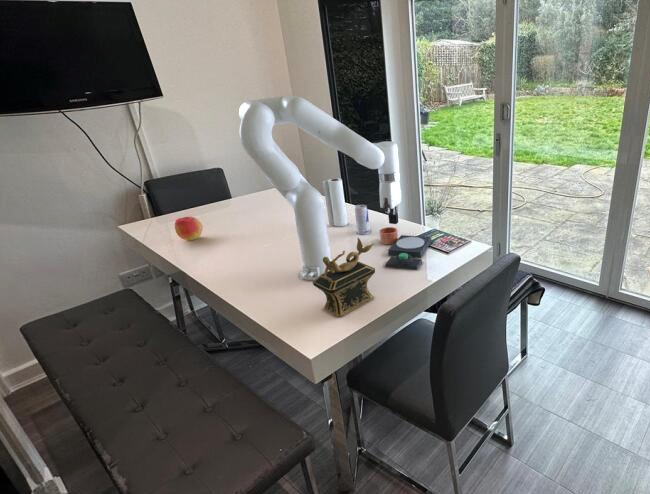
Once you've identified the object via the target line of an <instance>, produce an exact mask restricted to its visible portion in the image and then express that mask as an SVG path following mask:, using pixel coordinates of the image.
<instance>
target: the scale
mask: <svg viewBox="0 0 650 494" xmlns="http://www.w3.org/2000/svg"><path fill="white" fill-rule="evenodd" d="M431 244H432V237H431V236H421V235H420V236H418V235H405V234H401V235H400V236H398V239H397V241H396V242H395V243H394V244H391V245H390V248H388V250H387V251H388V256H390V257H396V256H398V255H399V254H401V253H407V254H409V255H411V256H412V258H414V259H421V258H422V257H423V256H424V254H425V253H426V251H427V250H428V248H429V247H430V245H431Z"/></svg>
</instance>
